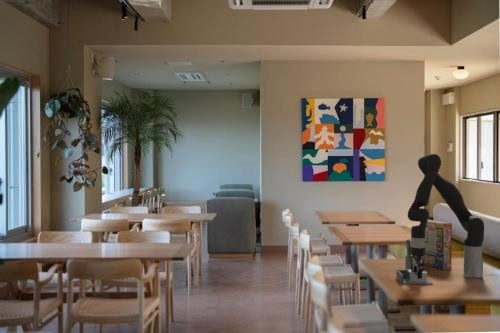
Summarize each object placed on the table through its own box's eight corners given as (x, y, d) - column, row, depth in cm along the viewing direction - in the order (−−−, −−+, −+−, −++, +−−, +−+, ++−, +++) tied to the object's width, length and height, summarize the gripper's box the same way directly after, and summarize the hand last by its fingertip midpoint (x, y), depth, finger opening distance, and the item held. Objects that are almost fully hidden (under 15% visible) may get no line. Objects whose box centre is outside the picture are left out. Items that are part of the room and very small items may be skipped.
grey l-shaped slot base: (426, 278, 294) (426, 270, 294) (432, 284, 281) (432, 275, 281) (396, 278, 295) (396, 269, 295) (401, 284, 282) (401, 275, 282)
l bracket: (409, 281, 284) (409, 272, 284) (406, 278, 291) (406, 269, 291) (427, 282, 284) (427, 272, 284) (423, 278, 291) (423, 269, 291)
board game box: (451, 269, 318) (452, 223, 317) (443, 269, 315) (444, 223, 314) (427, 262, 337) (428, 219, 336) (419, 263, 334) (420, 219, 333)
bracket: (413, 276, 299) (414, 240, 299) (400, 274, 303) (401, 239, 302) (423, 266, 324) (423, 233, 323) (410, 265, 327) (411, 232, 326)
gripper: (407, 243, 291) (407, 273, 292) (414, 248, 277) (413, 279, 278) (421, 243, 291) (421, 273, 292) (428, 248, 277) (428, 280, 277)
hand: (417, 276), depth 285 cm, fingers open, 8 cm apart
